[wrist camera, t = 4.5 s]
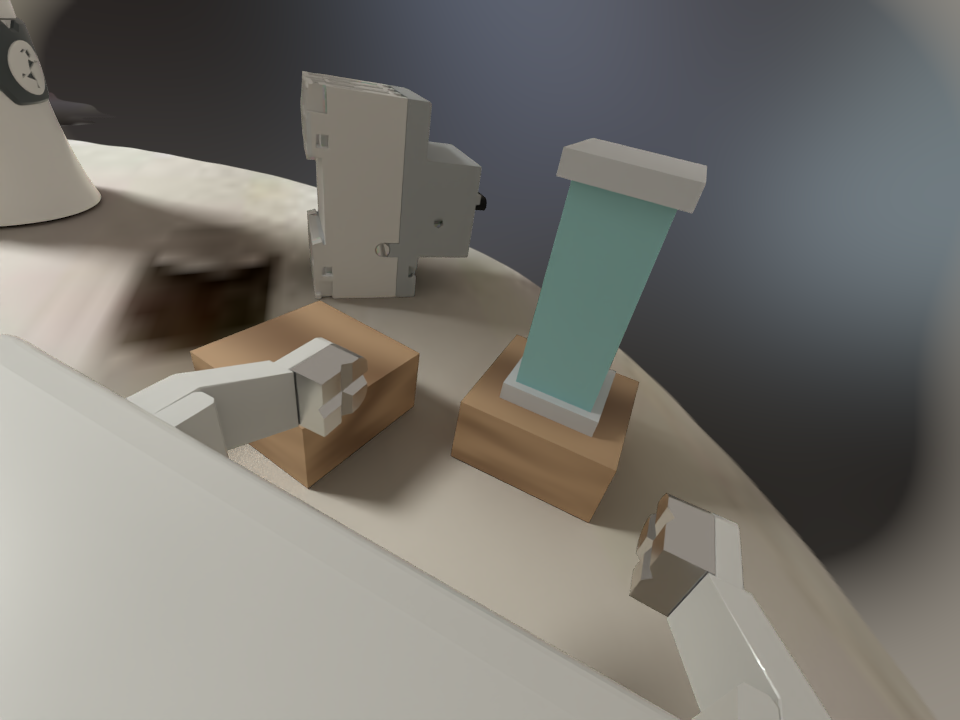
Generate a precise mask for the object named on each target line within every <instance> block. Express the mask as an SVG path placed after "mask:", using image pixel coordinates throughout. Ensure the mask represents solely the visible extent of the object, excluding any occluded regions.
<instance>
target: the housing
mask: <svg viewBox="0 0 960 720" xmlns="http://www.w3.org/2000/svg"><path fill="white" fill-rule="evenodd" d="M706 173H707V166H705V165H701V164H697V163H692V162H689V161H685V160H681V159H676V158H672V157H668V156H664V155H660V154H656V153H652V152H648V151H644V150H640V149H636V148H631V147H628V146H623V145H619V144H615V143H612V142H608V141H603V140H599V139H595V138H592V139H588V140H585V141H582V142H578V143H575V144H572V145H568V146H566V147H564V148H563V152H562V156H561V160H560V164H559V167H558V171H557V175H556V176H559V177H562V178H566V179H569V180H572V181H571V184H570V188H569V191H568V195H567V199H566V202H565V206H564V209H563V213H562V217H561V220H560V224H559V227H558V231H557V235H556V238H555V242H554V245H553V249H552V253H551V256H550V260H549V263H548V267H547V271H546V274H545V278H544V281H543V285H542V289H541V292H540V296H539V299H538V303H537V307H536V310H535V314H534V317H533V321H532V325H531V328H530V332H529V335H528V339H527V343H526V346H525V350H524V354H523V357H522V358H521V359H520V361H519V362H518V363H517V365H516V366H515V367H514V369H513V370H512V371H511V373H510V374H509V375H508V377H507V378H506V380H505V381H504V382H503V386H502V389H501V393H500V398H502V399H504V400H507V401H509V402H511V403H514V404H516V405H518V406H520V407H523V408H525V409H527V410H530V411H532V412H534V413H537V414H539V415H541V416H544V417H546V418H548V419H551V420H553V421H555V422H557V423H560V424H562V425H564V426H567V427H569V428H571V429H574V430H576V431H578V432H581V433H583V434H585V435H587V436H590V437H592V436H593V433H594V431H595V429H596V427H597V425H598V422H599V419H600V417H601V414H602V411H603V408H604V405H605V402H606V399H607V397H608V394H609V391H610V388H611V385H612V382H613V380H614V377H615V374H616V371H613V370H611V369H609V368H610V366H611V364H612V361H613V359H614V357H615V354H616V352H617V350H618V347H619V345H620V343H621V340H622V338H623V335H624V333H625V331H626V329H627V326H628V324H629V321H630V319H631V317H632V314H633V312H634V310H635V307H636V305H637V303H638V300H639V298H640V296H641V293H642V291H643V289H644V286H645V284H646V282H647V279H648V277H649V275H650V272H651V270H652V268H653V265H654V263H655V261H656V258H657V256H658V254H659V251H660V249H661V247H662V244H663V242H664V239H665V237H666V235H667V232H668V230H669V228H670V225H671V223H672V221H673V219H674V216H675V214H676V212H677V209H678V210H682V211H685V212H689V213H693V211H694V209H695V207H696V204H697V202H698V200H699V198H700V195H701V193H702V191H703V189H704V186H705V184H706Z"/></svg>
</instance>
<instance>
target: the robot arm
mask: <svg viewBox="0 0 960 720" xmlns="http://www.w3.org/2000/svg"><path fill="white" fill-rule="evenodd" d="M48 99H49V93H48V89H47V85H46V81H45V78H44V74H43V71H42V68H41V66H40V63H39V60H38V57H37V54H36V51H35V49H34V46H33V43H32V41H31V38H30V36H29V33H28V30H27V28H26V25H25V23H24V22H23V21H22V20H20V19H19V18H17V17H16V16H15V13H14V10H13V7H12V5H11V2H10V0H0V226H10V225H20V224H29V223H36V222H42V221H48V220H53V219H58V218H62V217H67V216H70V215H74V214H77V213H80V212H83V211H85V210H87V209H90V208H91V207H93V206H95V205H96V204H97V203H98V202H99V201H100V200H101V194H100V193H99V191H98V190H97V189H96V187H95V186H94V185H93V183H92V182H91V180H90V179H89V177H88V176H87V174H86V172H85V171H84V169H83V168H82V166H81V164H80V163H79V161H78V159H77V157H76V156H75V154H74V152H73V150H72V148H71V146H70V144H69V143H68V141H67V139H66V137H65V135H64V133H63V131H62V129H61V127H60V125H59V123H58V120H57V118H56V116H55V114H54V112H53V109H52V107H51V105H50V103H49V100H48ZM367 371H368V362H367V360H366V359H365V358H364V357H362V356H360V355H358V354H356V353H354V352H352V351H350V350H348V349H345V348H343V347H341V346H339V345H337V344H334V343H332V342H330V341H328V340H326V339H324V338H322V337H320V338H314V339H313V340H311V341H309V342H308V343H306V344H304V345H303V346H301V347H299V348H297V349H296V350H294V351H292V352H291V353H289V354H287V355H286V356H284V357H282V358H280V359H279V360H277V361H275V362H272V361H262V362H255V363H248V364H241V365H234V366H227V367H221V368H214V369H207V370H200V371H193V372H186V373H179V374H173V375H171V376H169V377H167V378H165V379H163V380H161V381H159V382H157V383H155V384H153V385H151V386H149V387H147V388H145V389H143V390H141V391H139V392H137V393H135V394H133V395H131V396H129V397H127V398H123V397H122V396H120V395H118V394H117V393H115V392H113V391H111V390H110V389H108V388H106V387H104V386H103V385H101V384H99V383H97V382H96V381H94V380H92V379H91V378H89V377H87V376H85V375H84V374H82V373H80V372H78V371H77V370H75V369H73V368H71V367H70V366H68V365H66V364H65V363H63V362H61V361H59V360H58V359H56V358H54V357H52V356H51V355H49V354H47V353H46V352H44V351H42V350H41V349H39V348H37V347H36V346H34V345H32V344H31V343H29V342H27V341H25V340H23V339H21V338H19V337H17V336H13V335H8V334H0V720H681V719H679V718H677V717H676V716H674V715H672V714H671V713H669V712H667V711H665V710H664V709H662V708H660V707H658V706H657V705H655V704H653V703H651V702H650V701H648V700H646V699H645V698H643V697H641V696H639V695H638V694H636V693H634V692H632V691H631V690H629V689H627V688H626V687H624V686H622V685H620V684H619V683H617V682H615V681H613V680H612V679H610V678H608V677H606V676H605V675H603V674H601V673H600V672H598V671H596V670H594V669H593V668H591V667H589V666H587V665H586V664H584V663H582V662H581V661H579V660H577V659H575V658H574V657H572V656H570V655H568V654H567V653H565V652H563V651H561V650H560V649H558V648H556V647H555V646H553V645H551V644H549V643H548V642H546V641H544V640H542V639H541V638H539V637H537V636H535V635H534V634H532V633H530V632H529V631H527V630H525V629H523V628H522V627H520V626H518V625H516V624H515V623H513V622H511V621H509V620H508V619H506V618H504V617H503V616H501V615H499V614H497V613H496V612H494V611H492V610H490V609H489V608H487V607H485V606H483V605H482V604H480V603H478V602H476V601H475V600H473V599H471V598H470V597H468V596H466V595H464V594H463V593H461V592H459V591H457V590H456V589H454V588H452V587H450V586H449V585H447V584H445V583H444V582H442V581H440V580H438V579H437V578H435V577H433V576H431V575H430V574H428V573H426V572H424V571H423V570H421V569H419V568H418V567H416V566H414V565H412V564H411V563H409V562H407V561H405V560H404V559H402V558H400V557H398V556H397V555H395V554H393V553H392V552H390V551H388V550H386V549H385V548H383V547H381V546H379V545H378V544H376V543H374V542H373V541H371V540H369V539H367V538H366V537H364V536H362V535H360V534H359V533H357V532H355V531H354V530H352V529H350V528H348V527H347V526H345V525H343V524H341V523H340V522H338V521H336V520H334V519H333V518H331V517H329V516H328V515H326V514H324V513H322V512H321V511H319V510H317V509H315V508H314V507H312V506H310V505H309V504H307V503H305V502H303V501H302V500H300V499H298V498H296V497H295V496H293V495H291V494H289V493H288V492H286V491H284V490H283V489H281V488H279V487H277V486H276V485H274V484H272V483H270V482H269V481H267V480H265V479H264V478H262V477H260V476H258V475H257V474H255V473H253V472H251V471H250V470H248V469H246V468H244V467H243V466H241V465H239V464H238V463H236V462H234V461H232V460H231V459H229V457H228V453H227V451H228V450H230V449H233V448H236V447H239V446H242V445H245V444H248V443H251V442H254V441H257V440H260V439H263V438H266V437H269V436H272V435H275V434H278V433H281V432H283V431H286V430H289V429H292V428H295V427H298V426H299V425H300V426H303V427H305V428H307V429H309V430H311V431H313V432H315V433H317V434H319V435H321V436H323V437H325V436H326V435H328V434H329V433H330V432H331V431H332V430H333V429H335V428H336V427H337V426H338V425H339V424H340V423H341V422H342V416H343V415H347V414H351V413H353V412H354V411H355V410H356V409H357V408H359V406H360V405H361V403H362V402H363V400H364V398H365V396H366V392H367V382H366V380H365V378H364V376H363V374H364V373H365V372H367ZM636 554H637V556H638V558H639V560H640V561H639V562H638V563H637V565H636V566H635V568H634V569H633V574H632V581H631V587H630V593H629V596H630V597H632V598H634V599H636V600H638V601H639V602H641V603H643V604H645V605H647V606H649V607H650V608H652V609H654V610H656V611H658V612H659V613H661V614H663V615H665V616H667V617H668V618H667V621H668V624H669V626H670V629H671V632H672V635H673V637H674V640H675V643H676V646H677V648H678V651H679V654H680V657H681V659H682V662H683V665H684V668H685V671H686V673H687V676H688V679H689V682H690V684H691V687H692V690H693V693H694V695H695V698H696V701H697V704H698V706H699V709H700V712H701V713H699V714H698V715H696V716H695V717H694V718H692V719H691V720H832V719H831V717H830V716H829V714H828V713H827V711H826V709H825V708H824V706H823V705H822V703H821V702H820V700H819V698H818V697H817V695H816V694H815V692H814V691H813V689H812V687H811V686H810V684H809V683H808V681H807V680H806V678H805V677H804V675H803V673H802V672H801V670H800V669H799V667H798V666H797V664H796V662H795V661H794V659H793V658H792V656H791V655H790V653H789V651H788V650H787V648H786V647H785V645H784V644H783V642H782V640H781V639H780V637H779V636H778V634H777V633H776V631H775V629H774V628H773V626H772V625H771V623H770V622H769V620H768V619H767V617H766V615H765V614H764V612H763V611H762V609H761V608H760V606H759V604H758V603H757V601H756V600H755V598H754V597H753V595H752V594H751V593H749V592H747V591H745V590H744V581H743V567H742V554H741V541H740V528H739V526H738V525H737V523H735V522H732V521H730V520H728V519H726V518H723V517H721V516H719V515H716V514H714V513H711V512H709V511H706V510H704V509H702V508H700V507H697V506H695V505H693V504H690V503H688V502H686V501H684V500H681V499H679V498H677V497H675V496H672V495H670V494H668V493H666V494H665V495H664V496H663V497H662V498H661V500H660V501H659V503H658V507H657V513H656V514H653V515H650V516H649V518H648V520H647V521H646V523H645V525H644V527H643V529H642V532H641V534H640V537H639V541H638V545H637V550H636Z"/></svg>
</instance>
